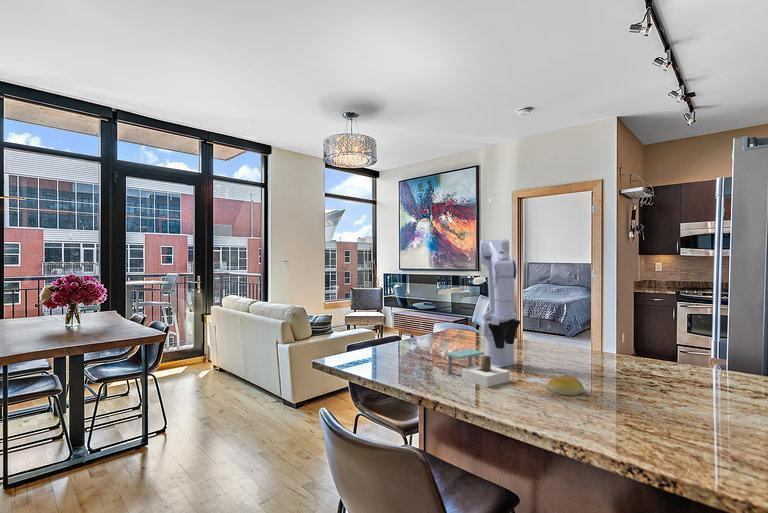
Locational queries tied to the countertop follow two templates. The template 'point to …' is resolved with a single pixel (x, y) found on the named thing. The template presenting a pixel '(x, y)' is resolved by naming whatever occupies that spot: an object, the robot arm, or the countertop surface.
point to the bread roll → (565, 386)
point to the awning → (462, 354)
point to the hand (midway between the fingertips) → (504, 346)
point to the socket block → (485, 376)
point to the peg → (485, 363)
